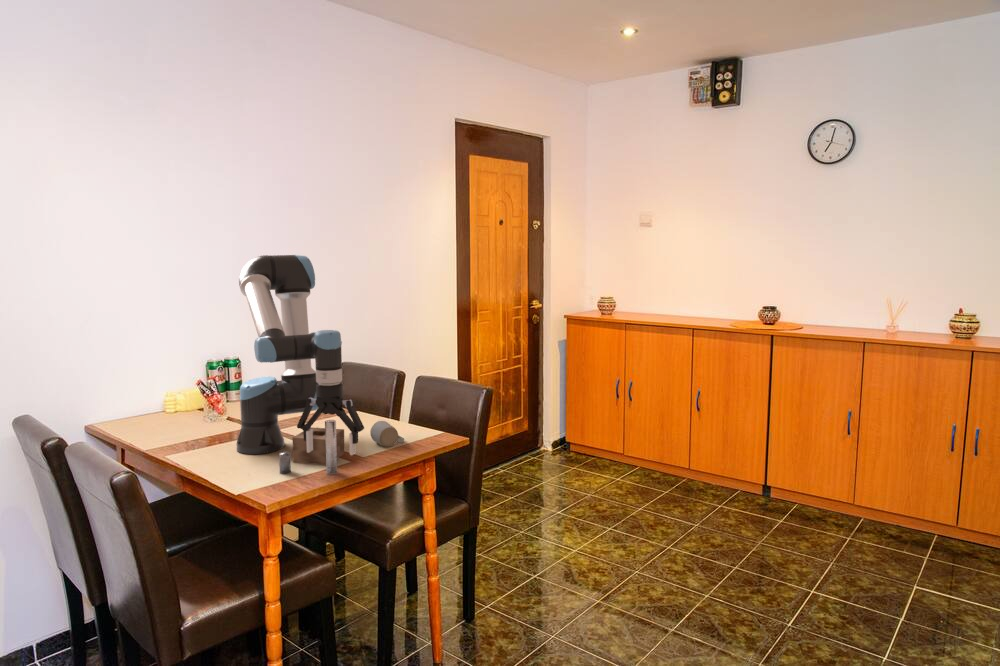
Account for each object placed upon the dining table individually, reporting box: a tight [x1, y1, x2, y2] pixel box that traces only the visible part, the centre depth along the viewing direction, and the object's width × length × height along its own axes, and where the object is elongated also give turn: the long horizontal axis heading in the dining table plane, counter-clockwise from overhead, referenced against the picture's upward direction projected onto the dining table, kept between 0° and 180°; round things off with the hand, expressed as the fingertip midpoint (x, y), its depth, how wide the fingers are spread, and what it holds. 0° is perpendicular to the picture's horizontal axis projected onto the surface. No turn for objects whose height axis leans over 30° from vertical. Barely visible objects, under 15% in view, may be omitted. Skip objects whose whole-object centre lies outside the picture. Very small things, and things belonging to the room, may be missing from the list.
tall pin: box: [324, 419, 338, 476], centre depth 200 cm, size 3×3×16 cm
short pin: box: [278, 450, 292, 475], centre depth 201 cm, size 3×3×6 cm
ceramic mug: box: [370, 420, 405, 448], centre depth 230 cm, size 11×8×8 cm
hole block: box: [292, 427, 346, 465], centre depth 215 cm, size 12×12×8 cm
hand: (331, 452), depth 200 cm, fingers open, 13 cm apart
